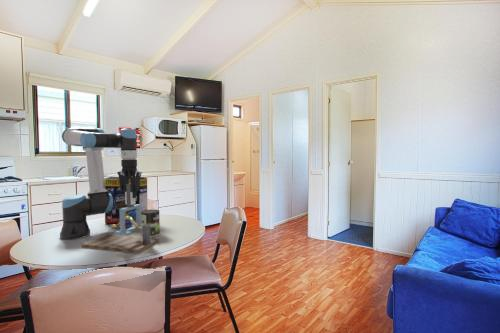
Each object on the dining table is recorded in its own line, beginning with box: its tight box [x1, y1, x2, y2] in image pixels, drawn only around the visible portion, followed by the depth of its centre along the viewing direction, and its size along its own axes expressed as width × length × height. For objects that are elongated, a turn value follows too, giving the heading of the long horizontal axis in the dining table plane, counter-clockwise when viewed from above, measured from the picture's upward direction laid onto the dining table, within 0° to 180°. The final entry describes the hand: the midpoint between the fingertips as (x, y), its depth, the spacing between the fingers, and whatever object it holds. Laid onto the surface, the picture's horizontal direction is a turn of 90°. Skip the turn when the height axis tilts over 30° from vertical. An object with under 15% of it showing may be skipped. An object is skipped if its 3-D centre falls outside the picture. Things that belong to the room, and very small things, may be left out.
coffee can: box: [141, 209, 161, 238], centre depth 167 cm, size 10×10×14 cm
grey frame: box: [113, 183, 142, 236], centre depth 148 cm, size 8×15×25 cm, turn 164°
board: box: [81, 233, 160, 254], centre depth 151 cm, size 34×18×2 cm, turn 74°
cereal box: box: [104, 176, 148, 225], centre depth 195 cm, size 27×11×32 cm, turn 80°
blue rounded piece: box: [125, 210, 136, 229], centre depth 181 cm, size 12×7×12 cm, turn 74°
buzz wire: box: [109, 216, 151, 245], centre depth 149 cm, size 24×3×14 cm, turn 74°
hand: (130, 204), depth 148 cm, fingers closed on grey frame, 2 cm apart
